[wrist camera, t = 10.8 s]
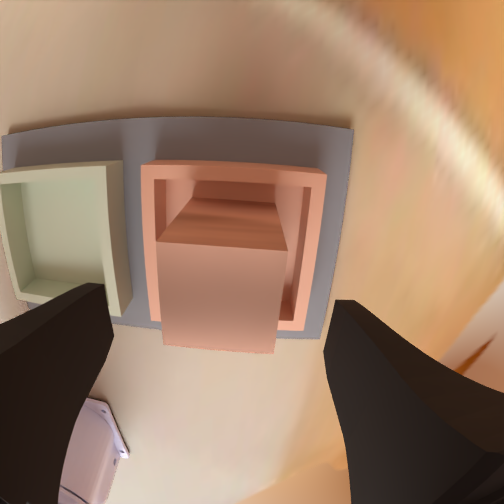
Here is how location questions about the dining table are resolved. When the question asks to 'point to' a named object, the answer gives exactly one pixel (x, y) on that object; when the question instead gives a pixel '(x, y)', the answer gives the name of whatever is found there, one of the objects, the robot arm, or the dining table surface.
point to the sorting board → (167, 205)
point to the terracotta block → (222, 276)
